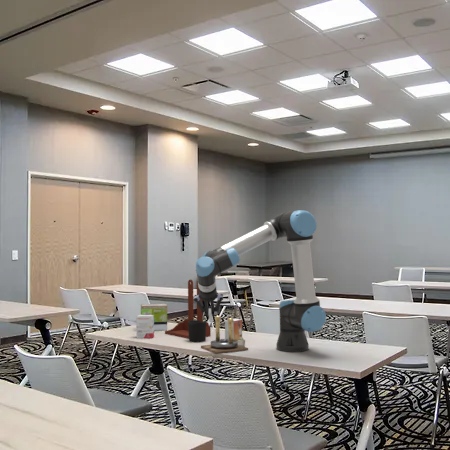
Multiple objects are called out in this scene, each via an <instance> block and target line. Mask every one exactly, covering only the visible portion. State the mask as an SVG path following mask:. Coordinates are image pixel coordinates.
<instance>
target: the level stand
mask: <svg viewBox="0 0 450 450" xmlns="http://www.w3.org/2000/svg"><path fill="white" fill-rule="evenodd" d="M200 349H203V350H205V351H208V352H210V353H213V354H216V355H219V354H220V355H221V354H222V355H223V354H230V353H237V352H245V351H246V352H247V351H249V347H246V339H245V338H243V336H242V337H241V338H239V340H238V346H237V347H234V348H213V347H211V344H205V345H200Z"/></svg>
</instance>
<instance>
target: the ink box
mask: <svg viewBox="0 0 450 450" xmlns="http://www.w3.org/2000/svg"><path fill="white" fill-rule="evenodd" d="M135 325H136V328H135V329H136V330H135V331H136V339H153V338H154V337H155V331H154V315H141V314H138V315H136V316H135Z"/></svg>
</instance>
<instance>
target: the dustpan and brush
mask: <svg viewBox="0 0 450 450" xmlns="http://www.w3.org/2000/svg"><path fill="white" fill-rule="evenodd" d="M196 295H199V287H198V280H197V281H196ZM200 300H201V301H202V302H203V300H202V299H200ZM187 317H188V318H184V321H181V322H178V323H177V324H176V325H175V326H174V327H173V328H171V329H167V331H164V335H169V336H173V337H179V338H183V339H187V340H189V333H188V321H191V320H195V319H194V281H193V279H189V280H188V281H187ZM196 320H199V321H201V322H204V321H203V312H202V311H201V310H200V308H199V306H198V304H197V303H196ZM211 329H212V328H211V326H210V322H209V321H208V322H207V321H206V338H209V337H210V338H211V336H212V335H211V331H212V330H211Z"/></svg>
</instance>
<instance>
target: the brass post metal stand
mask: <svg viewBox="0 0 450 450" xmlns="http://www.w3.org/2000/svg"><path fill="white" fill-rule="evenodd" d="M233 319H234V318H232V317H229V318H227V320H228V329H229V340H228V339H225V338H220V336H221V332H220V331H221V330H220V329H221V328H220V327H221V326H220V325H221V323H220V320H221V316H220V315H215V316H214V321H215V340H212V341H211V340H210V345H211V347H213V348H234V347H237V346H238V341H236V339H233V321H234V320H233Z"/></svg>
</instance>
